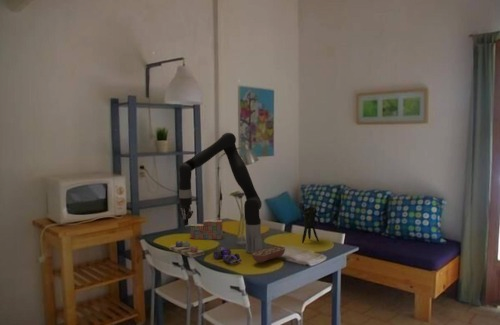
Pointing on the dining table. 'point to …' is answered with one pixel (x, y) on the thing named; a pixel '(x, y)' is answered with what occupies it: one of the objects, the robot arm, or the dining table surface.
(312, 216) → the black legged piece
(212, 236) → the stack of blocks
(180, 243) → the button
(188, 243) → the button
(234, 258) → the toy race car
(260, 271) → the dining table surface
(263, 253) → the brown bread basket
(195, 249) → the button
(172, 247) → the button board
